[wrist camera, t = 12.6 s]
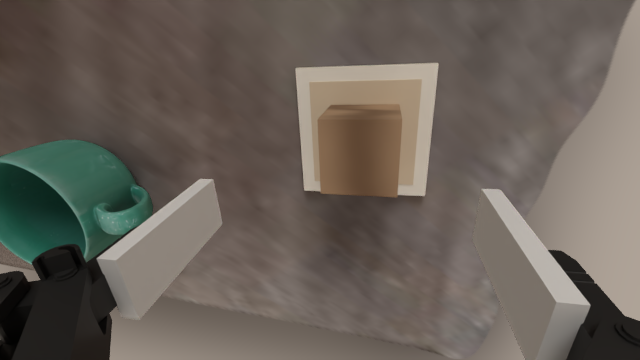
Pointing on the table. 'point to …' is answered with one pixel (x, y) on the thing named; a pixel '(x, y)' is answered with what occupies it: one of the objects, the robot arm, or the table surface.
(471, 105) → the table surface
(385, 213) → the table surface
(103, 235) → the mug
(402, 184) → the coaster
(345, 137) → the walnut cube
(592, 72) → the table surface
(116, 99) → the table surface
